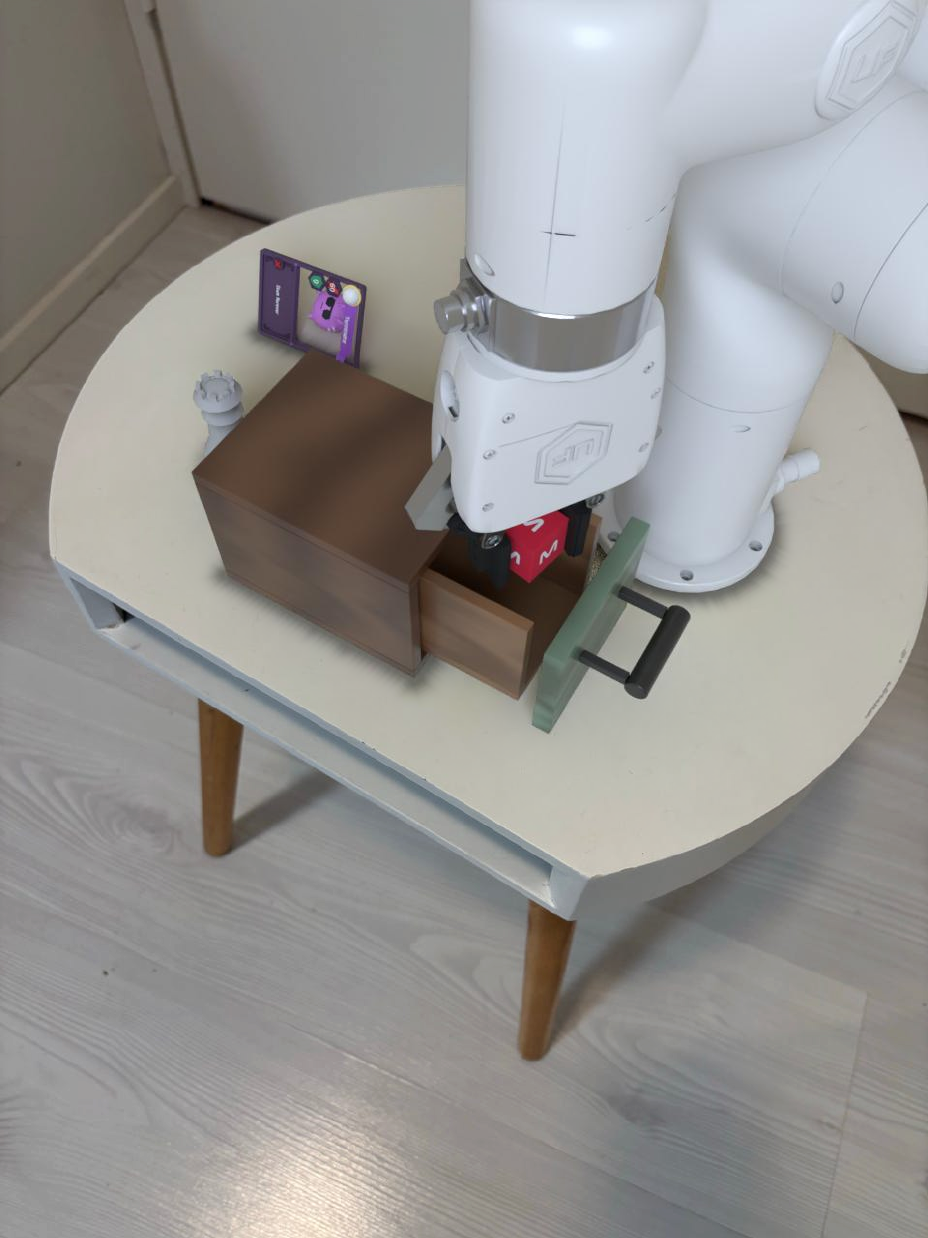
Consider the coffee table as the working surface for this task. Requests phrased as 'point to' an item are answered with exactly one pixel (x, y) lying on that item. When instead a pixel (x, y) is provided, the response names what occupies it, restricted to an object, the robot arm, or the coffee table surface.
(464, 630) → the drawer
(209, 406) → the rook chess piece
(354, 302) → the game card
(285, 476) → the cabinet
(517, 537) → the red letter cube
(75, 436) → the coffee table surface
